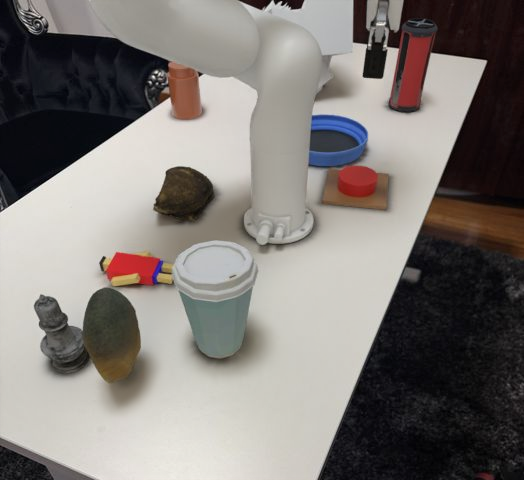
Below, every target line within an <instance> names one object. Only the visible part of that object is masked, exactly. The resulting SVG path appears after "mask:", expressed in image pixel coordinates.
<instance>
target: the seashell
mask: <svg viewBox="0 0 524 480" xmlns="http://www.w3.org/2000/svg"><path fill="white" fill-rule="evenodd" d="M214 196H215V192H214V185H213V183H212V181H211V180H210V179H209V178H208V176H207V175H205V174H204V173H202V172H201V171H199V170H197V169H195V168H192V167H191V166H183V165H181V166H180V165H178V166H174V167H173V166H172V167H170V168H168V169H166V170H165V176H164V180H163V184H162V185H161V188H160V191H159V192H158V195H157V196H156V197H155V202H154V204H153V209H152V210H153V211H154V212H155V213H158V214H160V215H162V216H169V217H173V218H176V219H180V220H182V221H183V220H184V221H195V220H196V219H197V218H198V216H199V215H200V214H201V212H202V211H203V210H204V208H205V207H206V206H207V204H208V203H209V202H210V201H211V200H212V199H213V198H214Z"/></svg>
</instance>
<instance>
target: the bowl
mask: <svg viewBox="0 0 524 480" xmlns="http://www.w3.org/2000/svg"><path fill="white" fill-rule="evenodd" d="M368 140H369V131H368V129H367V128H366V127H365V126H364V125H363V124H362V123H360V122H359V121H357V120H355V119H353V118H350V117H346V116H344V115H337V114H322V113H321V114H312V120H311V133H310V148H309V164H308V165H311V166H316V167H317V166H318V167H337V166H342V165H346V164H349V163H351V162H353V161H356V160H357V159H359V158H360V157H361V156H362V155H363V153H364V150H365V147H366V146H367V144H368Z"/></svg>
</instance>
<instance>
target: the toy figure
mask: <svg viewBox="0 0 524 480" xmlns="http://www.w3.org/2000/svg"><path fill="white" fill-rule="evenodd" d="M98 264H99V267H100V271H101V272H105V273H106V277H107V279H108V280H110V284H111V285H112V287H118V286H125V285H133V284H140V285H145V286H146V285H147V286H154V284H158V283H163V284H169V285H170V284H171V285H172V283H173V282H174V280H173V278H172V268H173V266H174V263H167V262H165V261H164V260H161V258H160V257H155V256H152V254H151V252H150V251H149V250H146V251H142V252H136V253H126V252H120V251H116V252H115V253H114V254H113V257H112V258H110V257H106V256H105V255H103V256H102V257H101V259H100V260H99V262H98ZM167 273H168V274H167ZM169 273H170V274H169Z"/></svg>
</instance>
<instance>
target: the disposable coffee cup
mask: <svg viewBox="0 0 524 480" xmlns="http://www.w3.org/2000/svg"><path fill="white" fill-rule="evenodd" d="M173 264H174V266H173V268H172V273H171V275H172V278H173V283H174V286H175V288H176V290H178V293H179V296H180V298H181V302H182V305H183V308H184V311H185V314H186V317H187V319H188V322H189V326H190V329H191V331H192V334H193V336H194V337H193V338H194V340H195V343H196V345H197V349H198V350H200V352H201V353H202V354H204V355H205V356H207V357H208V358H213V359H225V358H229V357H231V356H233V355H234V354H235V353H237V352H238V351H240V348H241V347H242V345H243V341H244V337H245V333H246V326H247V321H248V316H249V310H250V306H251V299H252V294H253V289H254V286H255V284H256V281H257V278H258V275H259V269H258V268H259V267H258V264H257V262H256V260H255V259H254V257H253V255H252V253H251V252H250V251H249V249H248V248H247V247H245V246H243V245H240V244H239V243H236V242H233V241H228V240H227V241H226V240H215V239H213V240H209V241H208V240H207V241H204V242H198V243H195V244H193V245H191V246H190V247H189V248H186V249H185V250H184V251H182V252H181V253H180V254H178V256H177V257H176V258H175V262H174V263H173Z"/></svg>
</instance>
